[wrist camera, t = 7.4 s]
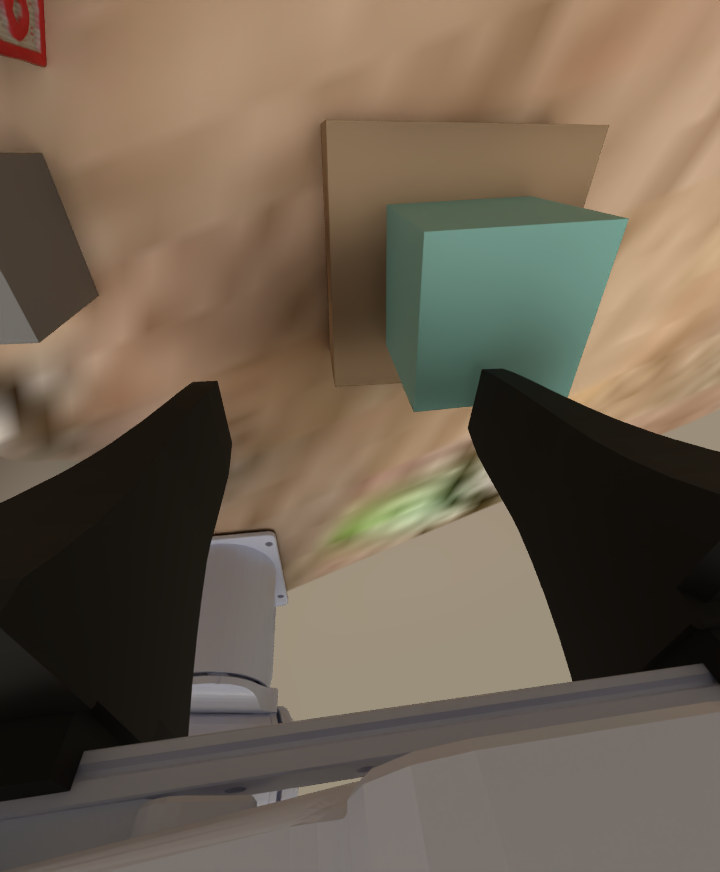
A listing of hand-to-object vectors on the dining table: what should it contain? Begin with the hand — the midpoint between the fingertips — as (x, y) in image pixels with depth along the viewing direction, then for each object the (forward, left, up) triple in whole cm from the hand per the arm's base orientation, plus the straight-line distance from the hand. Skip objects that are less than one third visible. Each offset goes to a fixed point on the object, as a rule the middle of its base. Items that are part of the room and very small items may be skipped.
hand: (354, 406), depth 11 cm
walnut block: (+2, -4, -10) cm, 11 cm away
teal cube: (+2, -4, -6) cm, 7 cm away
